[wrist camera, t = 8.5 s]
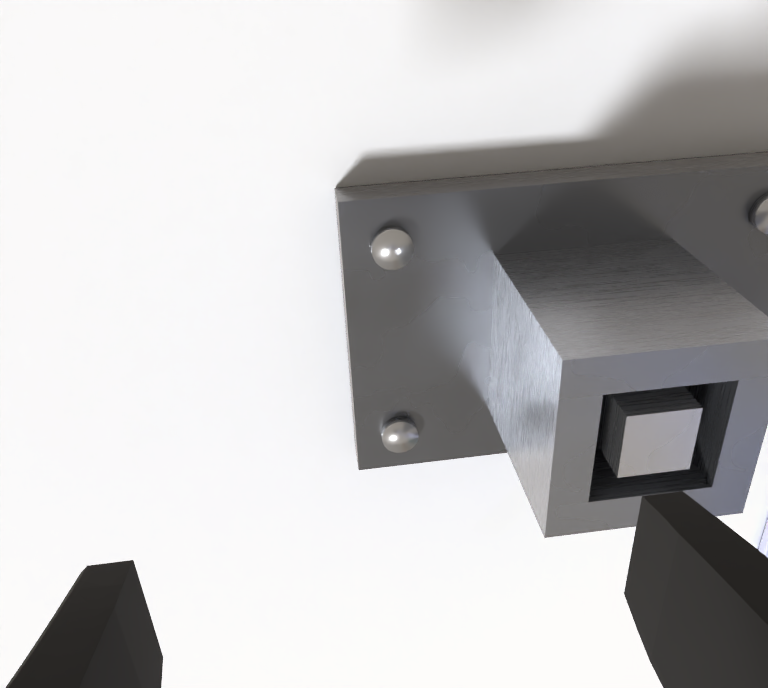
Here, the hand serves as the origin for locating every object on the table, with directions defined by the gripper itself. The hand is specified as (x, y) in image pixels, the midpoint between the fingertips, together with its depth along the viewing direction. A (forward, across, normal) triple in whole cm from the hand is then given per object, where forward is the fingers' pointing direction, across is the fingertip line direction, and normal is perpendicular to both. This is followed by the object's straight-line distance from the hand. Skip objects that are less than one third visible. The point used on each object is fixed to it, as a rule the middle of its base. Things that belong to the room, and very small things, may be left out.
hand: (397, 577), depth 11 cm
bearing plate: (+10, -6, +2) cm, 12 cm away
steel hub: (+9, -6, +2) cm, 11 cm away
